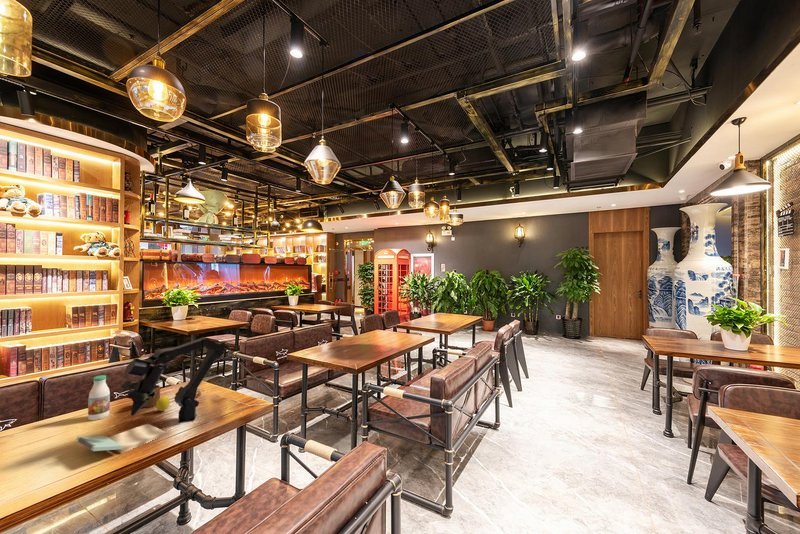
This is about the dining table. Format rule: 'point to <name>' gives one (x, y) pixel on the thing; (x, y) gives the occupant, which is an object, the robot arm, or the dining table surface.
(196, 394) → the pretzel
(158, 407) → the lemon
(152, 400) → the mug
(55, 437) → the dining table surface
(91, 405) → the milk bottle
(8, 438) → the dining table surface
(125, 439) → the beige flat square pad
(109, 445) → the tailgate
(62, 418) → the dining table surface
